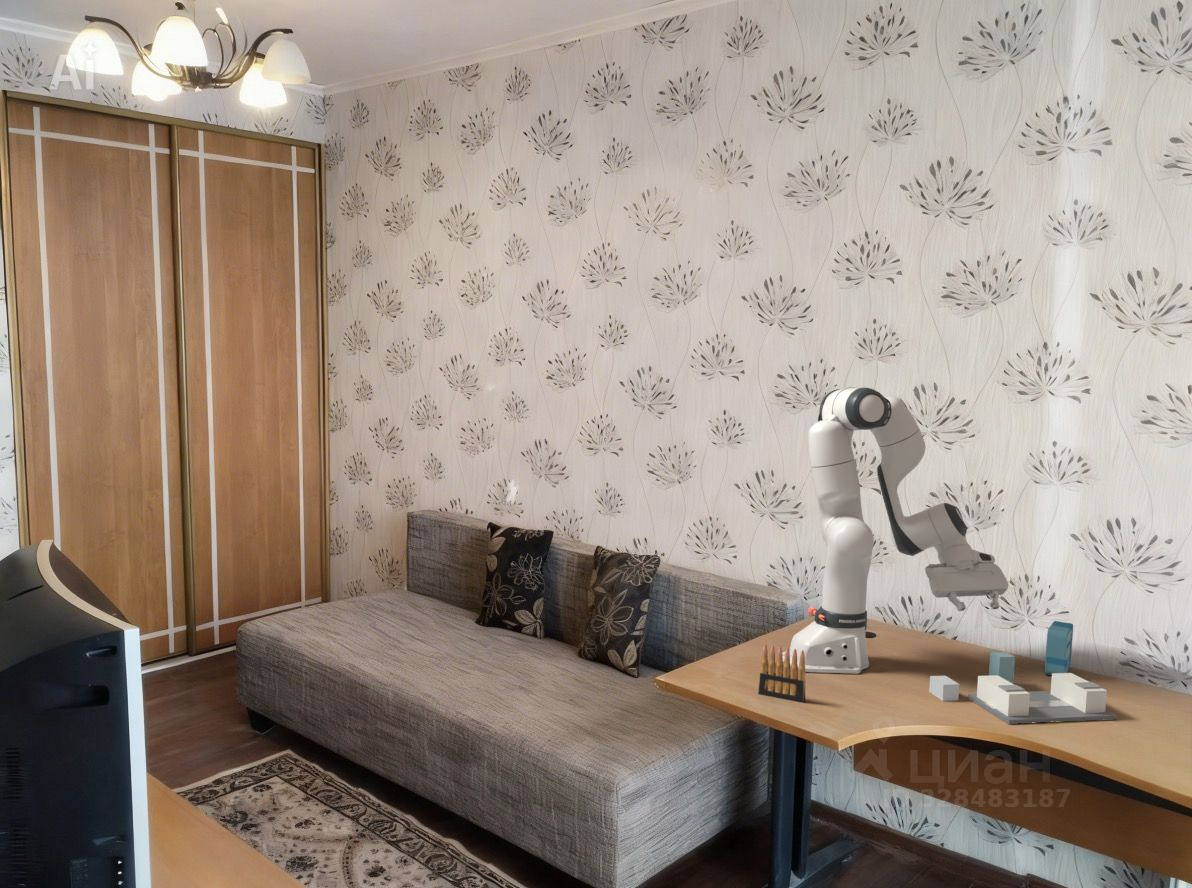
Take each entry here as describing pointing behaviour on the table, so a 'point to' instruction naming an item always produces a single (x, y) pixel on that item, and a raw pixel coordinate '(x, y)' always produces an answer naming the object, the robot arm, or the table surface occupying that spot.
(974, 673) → the table surface
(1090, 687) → the block
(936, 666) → the table surface
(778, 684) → the ammunition clip
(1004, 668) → the block
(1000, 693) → the block
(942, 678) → the block
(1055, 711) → the rail board
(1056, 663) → the data package
